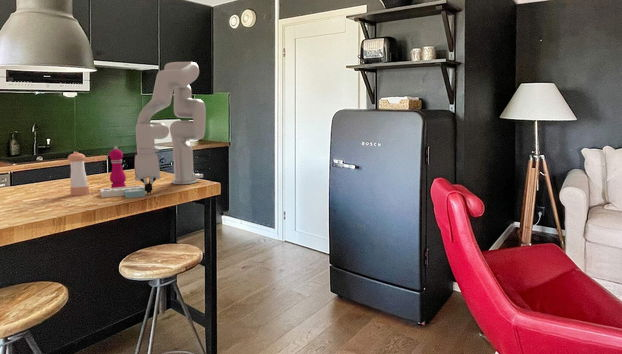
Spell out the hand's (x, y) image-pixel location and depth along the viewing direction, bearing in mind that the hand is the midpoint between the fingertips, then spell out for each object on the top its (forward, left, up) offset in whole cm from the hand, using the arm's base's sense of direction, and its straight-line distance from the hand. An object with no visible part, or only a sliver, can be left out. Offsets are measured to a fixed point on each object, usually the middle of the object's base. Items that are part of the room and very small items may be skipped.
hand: (148, 192), depth 197 cm
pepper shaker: (+27, -17, -1) cm, 32 cm away
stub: (+6, 0, -1) cm, 6 cm away
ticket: (+10, -7, -1) cm, 12 cm away
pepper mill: (+10, -25, -1) cm, 27 cm away
